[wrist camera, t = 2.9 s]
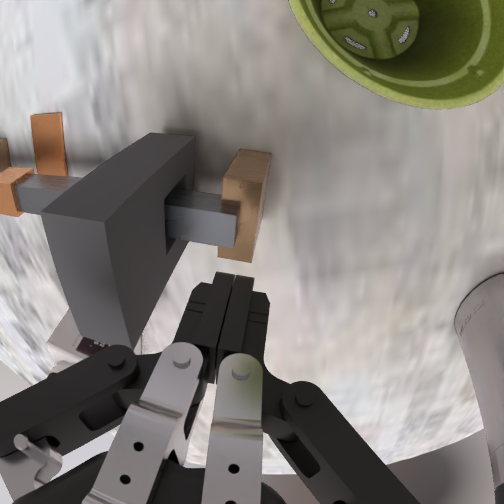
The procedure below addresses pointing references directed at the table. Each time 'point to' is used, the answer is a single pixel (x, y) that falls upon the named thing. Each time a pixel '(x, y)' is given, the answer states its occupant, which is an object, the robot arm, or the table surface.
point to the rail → (175, 203)
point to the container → (73, 345)
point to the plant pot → (412, 47)
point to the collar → (119, 237)
